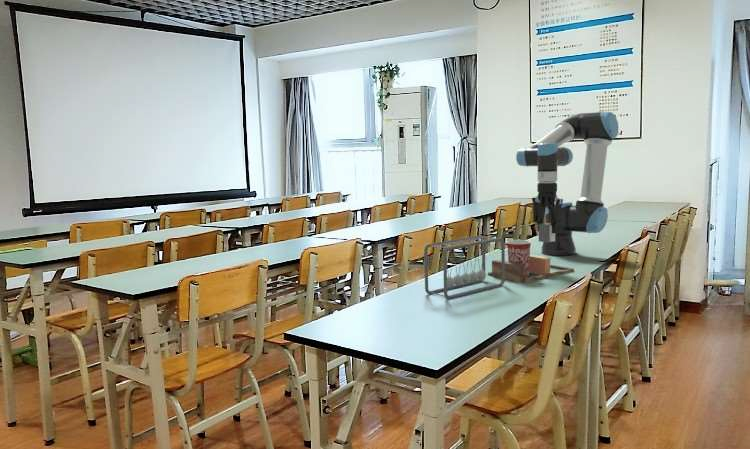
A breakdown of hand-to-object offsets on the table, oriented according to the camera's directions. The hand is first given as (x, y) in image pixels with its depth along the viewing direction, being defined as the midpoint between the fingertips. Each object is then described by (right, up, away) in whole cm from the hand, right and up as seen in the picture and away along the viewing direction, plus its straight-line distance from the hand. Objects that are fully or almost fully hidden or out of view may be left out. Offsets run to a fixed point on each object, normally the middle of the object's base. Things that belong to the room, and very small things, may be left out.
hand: (546, 240), depth 237 cm
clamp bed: (-8, -13, -4) cm, 15 cm away
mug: (-12, -14, -7) cm, 19 cm away
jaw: (-6, -13, -3) cm, 14 cm away
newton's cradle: (-37, -17, -27) cm, 49 cm away
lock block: (0, 0, 0) cm, 0 cm away
